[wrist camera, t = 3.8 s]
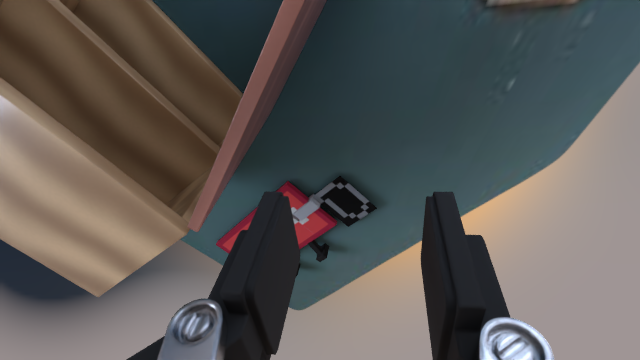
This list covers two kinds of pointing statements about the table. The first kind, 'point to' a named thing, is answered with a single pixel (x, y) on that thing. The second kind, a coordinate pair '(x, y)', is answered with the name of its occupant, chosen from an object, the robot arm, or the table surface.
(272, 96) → the cupboard door
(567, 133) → the table surface
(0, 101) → the cupboard
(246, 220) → the red board with handle
